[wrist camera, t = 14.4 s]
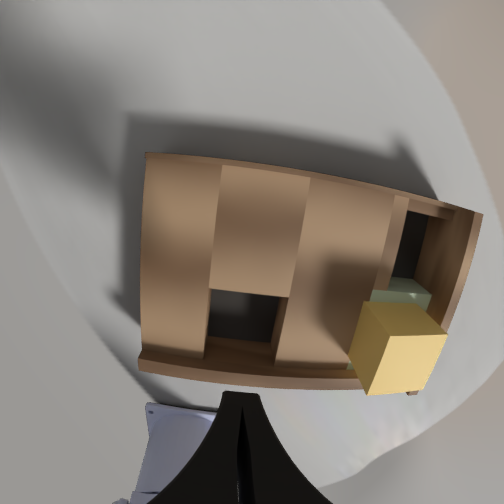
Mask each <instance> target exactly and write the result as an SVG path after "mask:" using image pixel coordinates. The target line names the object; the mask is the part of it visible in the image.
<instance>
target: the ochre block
mask: <svg viewBox="0 0 504 504" xmlns="http://www.w3.org/2000/svg"><path fill="white" fill-rule="evenodd" d="M447 336H448V334H447V333H446V332H445V331H444V330H443V329H442V328H441V327H440V326H439V325H438V324H437V323H436V322H435V321H434V320H433V319H432V318H431V317H430V316H429V315H428V314H427V313H426V312H425V311H424V310H423V309H422V308H421V307H420V306H419V305H418V304H417V303H391V302H370V301H364V302H363V305H362V309H361V313H360V316H359V320H358V323H357V327H356V330H355V333H354V337H353V340H352V343H351V346H350V350H349V353H348V357H349V359H350V361H351V364H352V366H353V368H354V370H355V372H356V374H357V376H358V378H359V380H360V383H361V385H362V387H363V389H364V391H365V393H366V395H367V396H368V395H381V394H391V393H400V392H409V391H417V390H423V388H424V386H425V384H426V382H427V380H428V378H429V376H430V374H431V372H432V370H433V368H434V366H435V363H436V361H437V359H438V357H439V355H440V352H441V350H442V348H443V345H444V343H445V341H446V338H447Z"/></svg>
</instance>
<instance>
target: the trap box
mask: <svg viewBox="0 0 504 504" xmlns="http://www.w3.org/2000/svg"><path fill="white" fill-rule="evenodd" d="M145 158H147V159H146V169H145V180H144V192H143V205H142V223H141V248H140V313H141V338H142V351H141V353H140V355H139V357H138V367H139V371H144V372H149V373H155V374H160V375H166V376H172V377H178V378H184V379H190V380H197V381H205V382H213V383H221V384H230V385H240V386H251V387H264V388H280V389H305V390H356V389H363V387H362V385H361V383H360V380H359V378H358V376H357V374H356V372H355V370H354V368H353V366H352V364H351V361H350V359H349V357H348V353H349V350H350V346H351V343H352V340H353V337H354V333H355V330H356V327H357V323H358V320H359V316H360V313H361V309H362V305H363V302H364V301H370V302H391V303H417V304H418V305H419V306H420V307H421V308H422V309H423V310H424V311H425V312H426V313H427V314H428V315H429V316H430V317H431V318H432V319H433V320H434V321H435V322H436V323H437V324H438V325H439V326H440V327H441V328H442V329H443V330H444V331H445V332H446V333H447V330H448V328H449V326H450V323H451V321H452V318H453V316H454V313H455V310H456V308H457V305H458V302H459V299H460V297H461V294H462V291H463V288H464V285H465V282H466V279H467V276H468V272H469V269H470V266H471V262H472V259H473V255H474V252H475V248H476V244H477V240H478V236H479V232H480V228H481V223H482V218H483V214H481V213H477V212H474V211H471V210H468V209H465V208H462V207H459V206H455V205H452V204H449V203H445V202H442V201H438V200H435V199H431V198H428V197H424V196H420V195H416V194H413V193H409V192H405V191H401V190H397V189H393V188H388V187H384V186H380V185H375V184H371V183H367V182H362V181H357V180H353V179H348V178H343V177H338V176H333V175H328V174H322V173H317V172H311V171H306V170H300V169H294V168H288V167H281V166H275V165H268V164H261V163H254V162H246V161H239V160H231V159H222V158H213V157H203V156H193V155H181V154H169V153H153V152H145ZM418 391H419V390H417V391H409V392H406V393H407V395H417V393H418Z"/></svg>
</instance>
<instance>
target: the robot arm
mask: <svg viewBox="0 0 504 504" xmlns="http://www.w3.org/2000/svg"><path fill="white" fill-rule="evenodd" d="M145 410H146V417H147V424H148V431H149V441H148V445H147V448H146V452H145V456H144V459H143V463H142V467H141V470H140V474H139V478H138V481H137V485H136V489H135V491H133V492H132V495H131V499H130V503H129V504H333V503H331V502H330V501H329V500H328V499H327V498H325V497H324V496H323V495H322V494H321V493H320V492H319V491H318V490H317V489H316V488H315V487H314V486H313V485H312V484H311V483H310V482H309V481H308V480H307V478H306V477H305V476H304V475H303V474H302V473H301V471H300V470H299V469H298V468H297V466H296V465H295V464H294V462H293V461H292V460H291V458H290V457H289V455H288V454H287V452H286V451H285V449H284V448H283V446H282V444H281V443H280V441H279V439H278V437H277V436H276V434H275V432H274V430H273V428H272V426H271V424H270V422H269V420H268V417H267V415H266V413H265V410H264V408H263V405H262V402H261V399H260V396H259V395H258V394H257V393H245V392H234V391H224V392H223V393H222V399H221V403H220V406H219V409H218V411H217V413H215V412H206V411H199V410H192V409H185V408H179V407H173V406H167V405H162V404H156V403H151V402H149V403H147V404H146V406H145ZM237 481H238V484H237ZM238 497H239V502H238ZM112 504H128V500H126V499H123V498H121V499H120V500H118V501H115V502H113V503H112Z"/></svg>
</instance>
